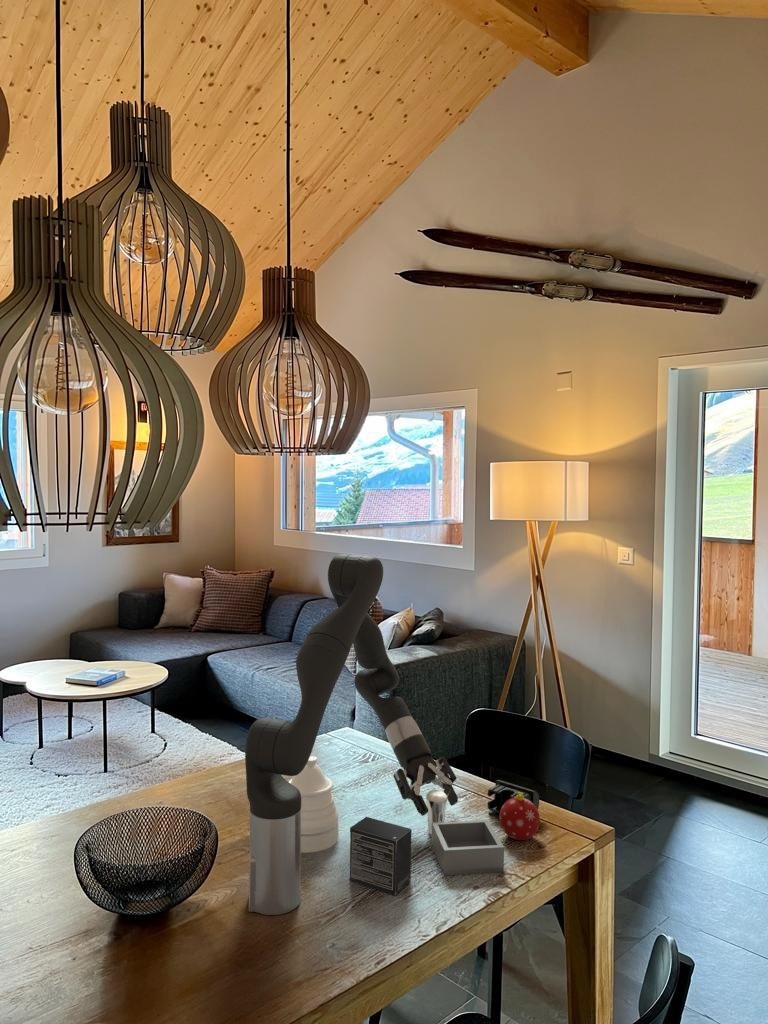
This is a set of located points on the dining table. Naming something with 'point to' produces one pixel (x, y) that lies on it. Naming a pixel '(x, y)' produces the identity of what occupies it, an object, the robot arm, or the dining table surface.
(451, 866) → the bin
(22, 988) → the dining table surface
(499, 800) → the end cap
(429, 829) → the milkshake
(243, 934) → the dining table surface
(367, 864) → the small box
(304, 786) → the honey pot
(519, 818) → the christmas ornament
